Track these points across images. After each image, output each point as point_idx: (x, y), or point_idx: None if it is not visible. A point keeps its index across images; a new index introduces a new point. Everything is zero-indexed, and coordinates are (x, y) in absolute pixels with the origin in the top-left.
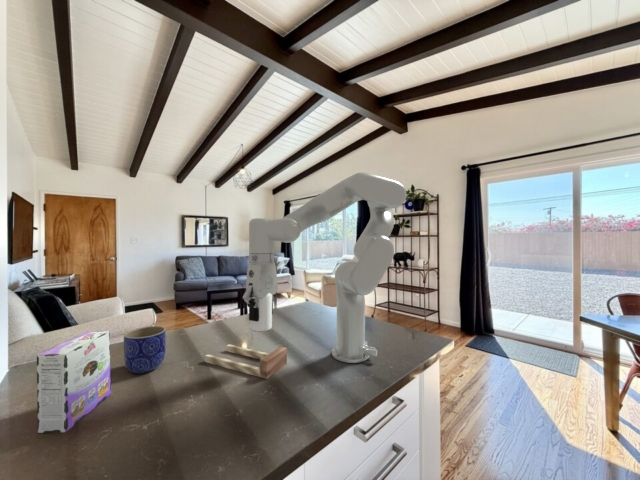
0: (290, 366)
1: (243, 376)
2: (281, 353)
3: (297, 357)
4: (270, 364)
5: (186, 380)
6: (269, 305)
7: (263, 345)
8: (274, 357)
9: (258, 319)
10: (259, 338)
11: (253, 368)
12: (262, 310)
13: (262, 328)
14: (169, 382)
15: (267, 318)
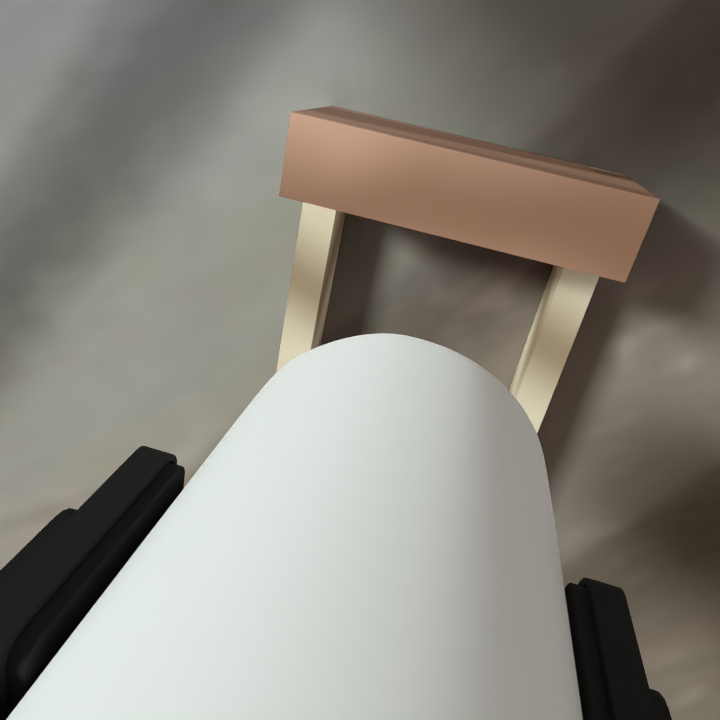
0: (371, 50)
1: (598, 364)
2: (395, 134)
3: (192, 50)
4: (586, 176)
5: (682, 650)
6: (369, 670)
7: (104, 407)
8: (524, 164)
9: (599, 596)
10: (17, 471)
11: (581, 319)
12: (561, 702)
13: (531, 434)
14: (710, 712)
15: (466, 461)
